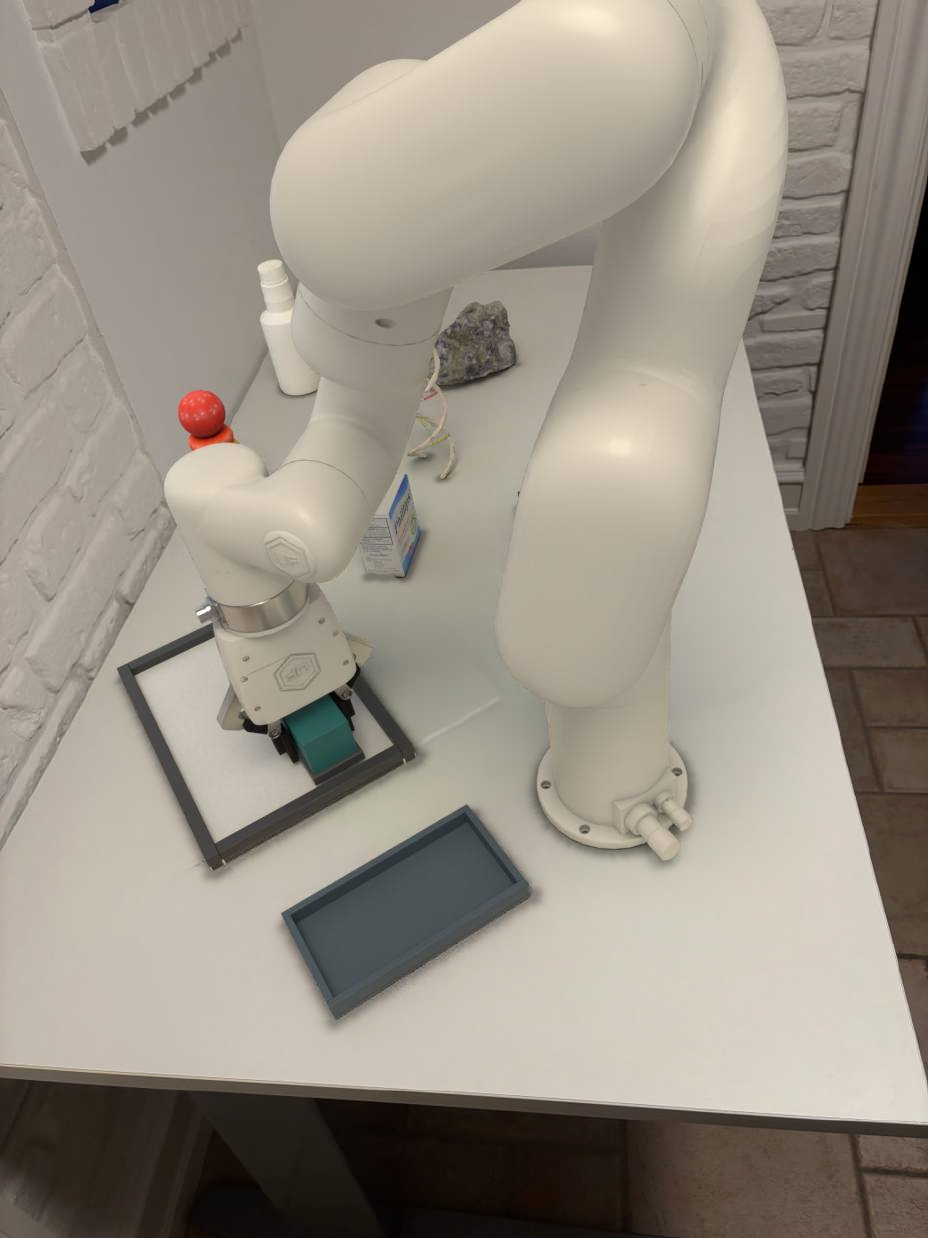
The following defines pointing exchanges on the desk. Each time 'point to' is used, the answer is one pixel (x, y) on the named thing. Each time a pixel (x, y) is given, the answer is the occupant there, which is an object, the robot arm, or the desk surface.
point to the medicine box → (392, 531)
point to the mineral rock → (474, 344)
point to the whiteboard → (242, 751)
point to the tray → (403, 909)
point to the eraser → (322, 739)
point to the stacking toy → (204, 419)
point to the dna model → (433, 423)
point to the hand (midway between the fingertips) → (317, 736)
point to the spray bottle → (283, 331)
